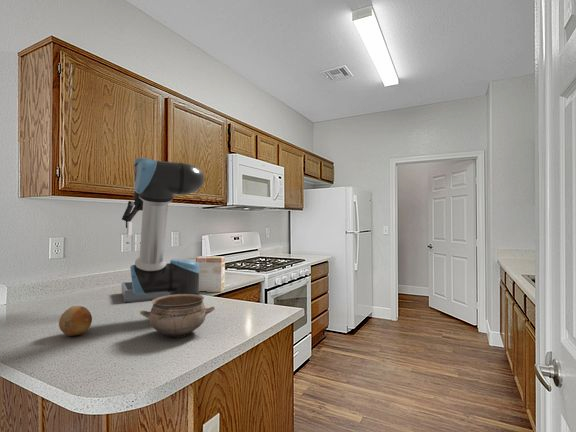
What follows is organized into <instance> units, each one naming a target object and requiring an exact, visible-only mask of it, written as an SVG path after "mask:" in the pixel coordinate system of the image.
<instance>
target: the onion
mask: <svg viewBox="0 0 576 432" xmlns="http://www.w3.org/2000/svg"><path fill="white" fill-rule="evenodd" d="M92 321H93V316H92V313H91V312H90V310H89V309H88V308H86V307H84V306H83V305H72V306H71V307H69V308H67V309H66V310H65V311H64V312H63V313H62V314H61V315H60V318H59V320H58V327H59V330H60V331H61V332H62V333H63V334H64V335H66V336H68V337H70V336H72V337H74V336H82V335H84V334H85V333H86V332H87V331H88V330H89V329H90V327H91V325H92V323H93V322H92Z"/></svg>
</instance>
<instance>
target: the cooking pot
mask: <svg viewBox="0 0 576 432" xmlns="http://www.w3.org/2000/svg"><path fill="white" fill-rule="evenodd" d="M204 300H205V297H204V296H202V295H201V294H199V295H195V294H175V295H167V296H162V297H158V298H155V299H153V300H152V301H151V303H152V307H151V309H150V311H146V310H143V309H142V310H140V311H139V313H140V315H141V316H142V317H145V318H147V319H148V320H149V323H150V325H151V326H152V328H153V329H154V330H155V331H157V332H159V333H160V334H162V335H165V336H167V337H170V338H181V337H182V336H183V337H185V336H188V335H189V334H190V333H192V332H194V331H195V330H196V329H198V328H200V327H201V325H203V324H204V322H205V320H206V316H207V315H208V314H210V313H212V312H213V311H215V306H211V307H206V306H205V303H204Z"/></svg>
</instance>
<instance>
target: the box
mask: <svg viewBox="0 0 576 432" xmlns="http://www.w3.org/2000/svg"><path fill="white" fill-rule="evenodd" d="M121 295H122V299H123V301H124V303H125V304H130V303H140V302H142V303H143V302H149V301H151V302H152V300H153V299H155V298H158V297H162V296H167V295H170V292H164V293H154V294H146V295H144V294H141V295H137V294H135V293H134V292H133V286H132V281H125V282H124V281H123V282H121Z"/></svg>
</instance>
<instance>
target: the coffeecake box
mask: <svg viewBox="0 0 576 432" xmlns="http://www.w3.org/2000/svg"><path fill="white" fill-rule="evenodd" d="M225 260H226V256H225V255H224V256H221V255H220V256H213V255H211V256H210V255H209V256H205V255H203V256H202V255H200V256H196V257H195V262H197V263H198V264H199V272H200V274H199V291H207V292H206V293H222V292H224V291H225V290H226V289H225V288H226V287H225V283H226V282H225V281H226V279H225V278H226V271H225V270H226V263H225V262H226V261H225Z"/></svg>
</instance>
